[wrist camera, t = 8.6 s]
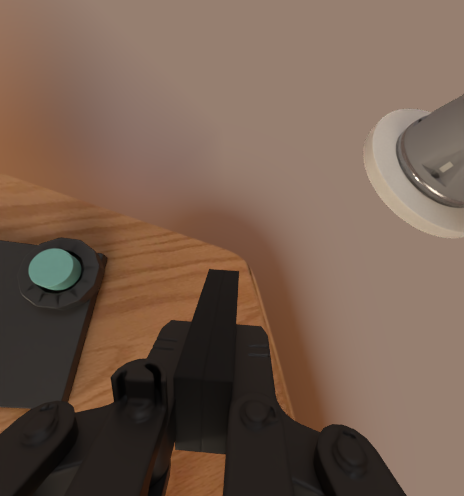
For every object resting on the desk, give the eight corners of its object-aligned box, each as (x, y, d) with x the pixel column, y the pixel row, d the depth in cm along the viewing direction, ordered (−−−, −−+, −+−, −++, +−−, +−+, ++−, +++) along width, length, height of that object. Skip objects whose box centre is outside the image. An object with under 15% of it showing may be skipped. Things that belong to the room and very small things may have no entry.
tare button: (86, 257, 22) (78, 251, 20) (75, 292, 21) (66, 289, 19) (47, 252, 22) (36, 245, 20) (34, 288, 21) (21, 284, 19)
